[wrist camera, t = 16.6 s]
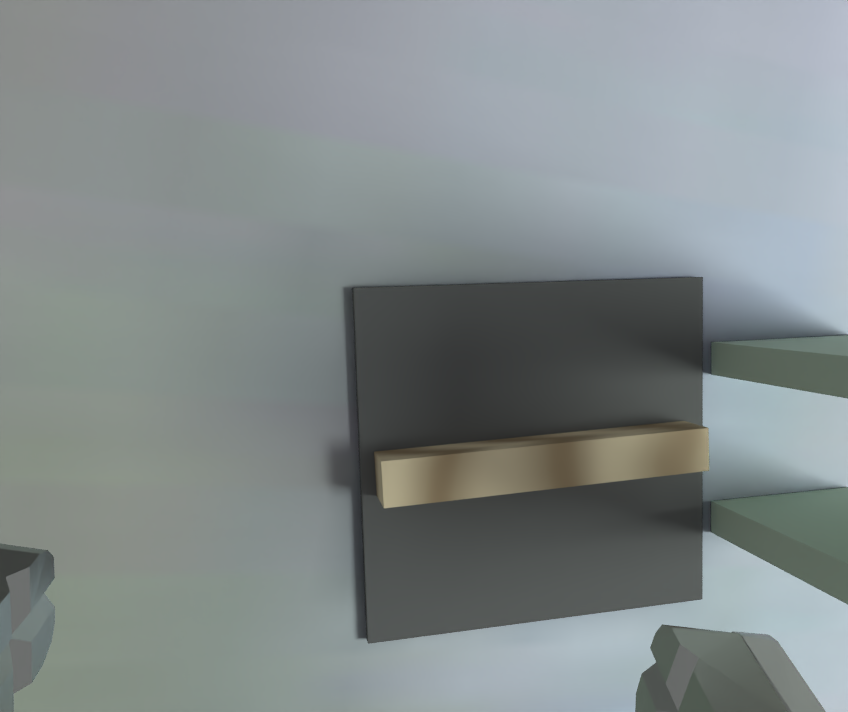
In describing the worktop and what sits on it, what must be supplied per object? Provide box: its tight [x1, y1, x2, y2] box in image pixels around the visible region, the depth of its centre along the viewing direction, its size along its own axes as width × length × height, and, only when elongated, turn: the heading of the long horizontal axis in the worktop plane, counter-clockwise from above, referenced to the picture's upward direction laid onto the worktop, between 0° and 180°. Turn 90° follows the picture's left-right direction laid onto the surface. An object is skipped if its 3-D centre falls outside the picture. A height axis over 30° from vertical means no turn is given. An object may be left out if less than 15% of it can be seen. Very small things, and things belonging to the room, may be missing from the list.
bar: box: [374, 421, 709, 508], centre depth 41 cm, size 19×2×2 cm, turn 93°
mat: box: [352, 277, 703, 644], centre depth 43 cm, size 20×21×1 cm
